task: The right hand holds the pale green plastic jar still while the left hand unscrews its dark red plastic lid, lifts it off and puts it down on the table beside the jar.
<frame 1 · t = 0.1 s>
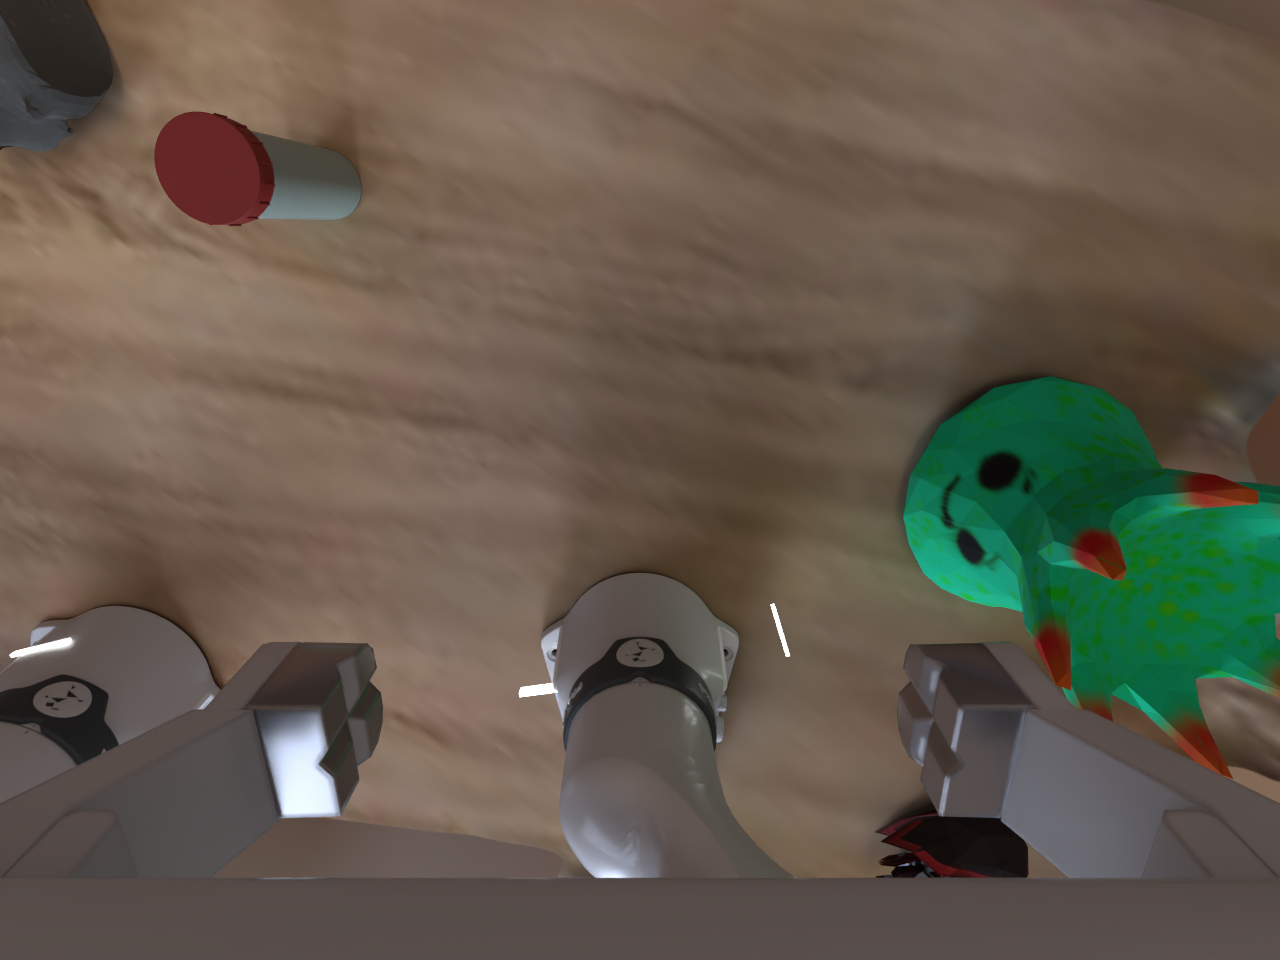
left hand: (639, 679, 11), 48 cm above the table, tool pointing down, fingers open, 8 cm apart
toy: (928, 820, 74), on the table
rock: (15, 23, 49), on the table
lid: (211, 170, 38), point 15 cm above the table, screwed on, not yet turned
toy 2: (1013, 488, 61), on the table
jar: (328, 184, 52), on the table
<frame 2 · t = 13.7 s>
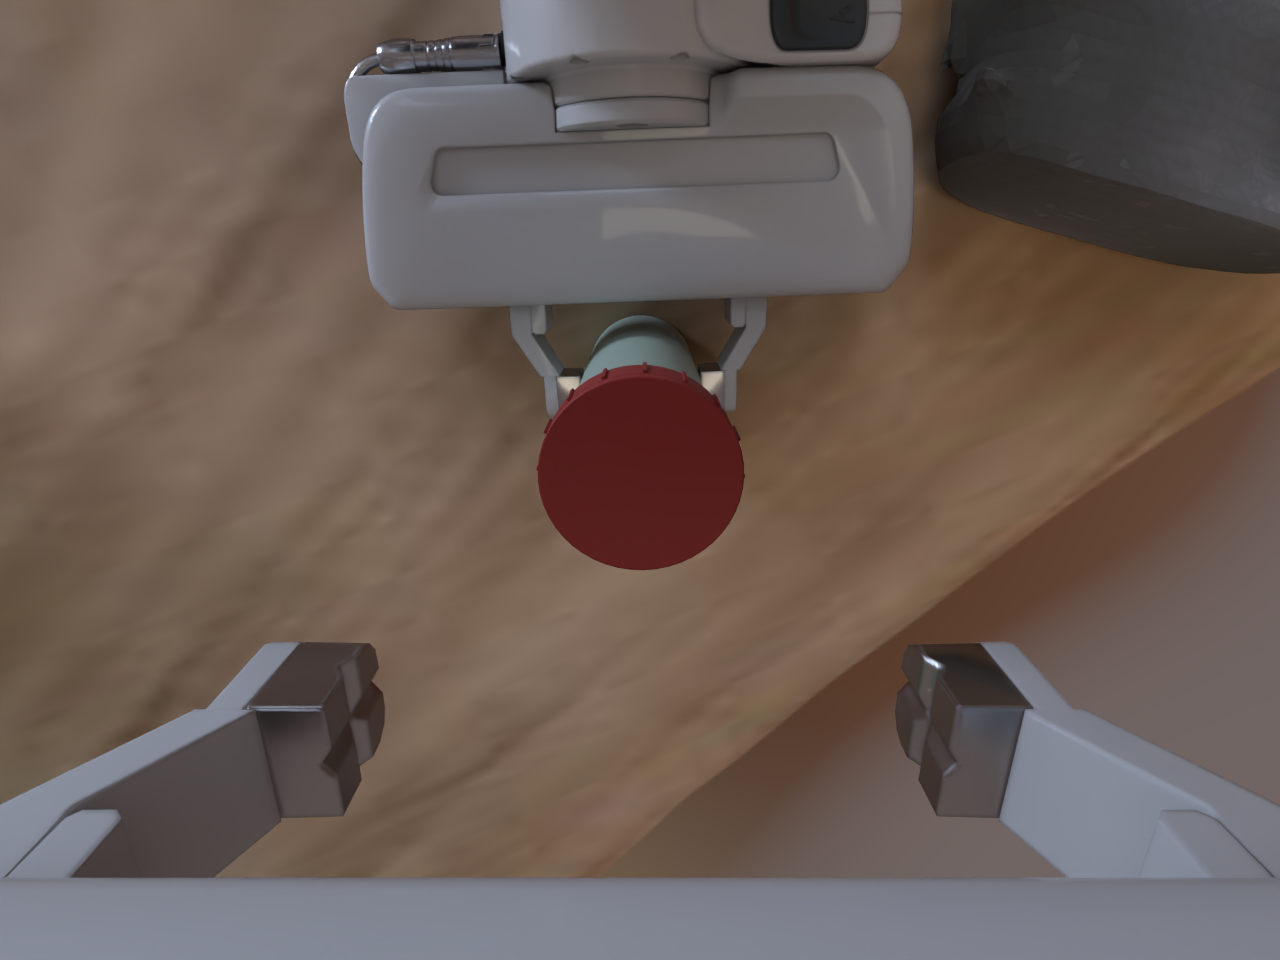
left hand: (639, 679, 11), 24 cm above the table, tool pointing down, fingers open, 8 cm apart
right hand: (642, 411, 29), fingers closed on jar, 5 cm apart
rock: (1106, 96, 29), on the table
lid: (640, 474, 19), point 15 cm above the table, screwed on, not yet turned
jar: (641, 366, 34), on the table, touching right hand
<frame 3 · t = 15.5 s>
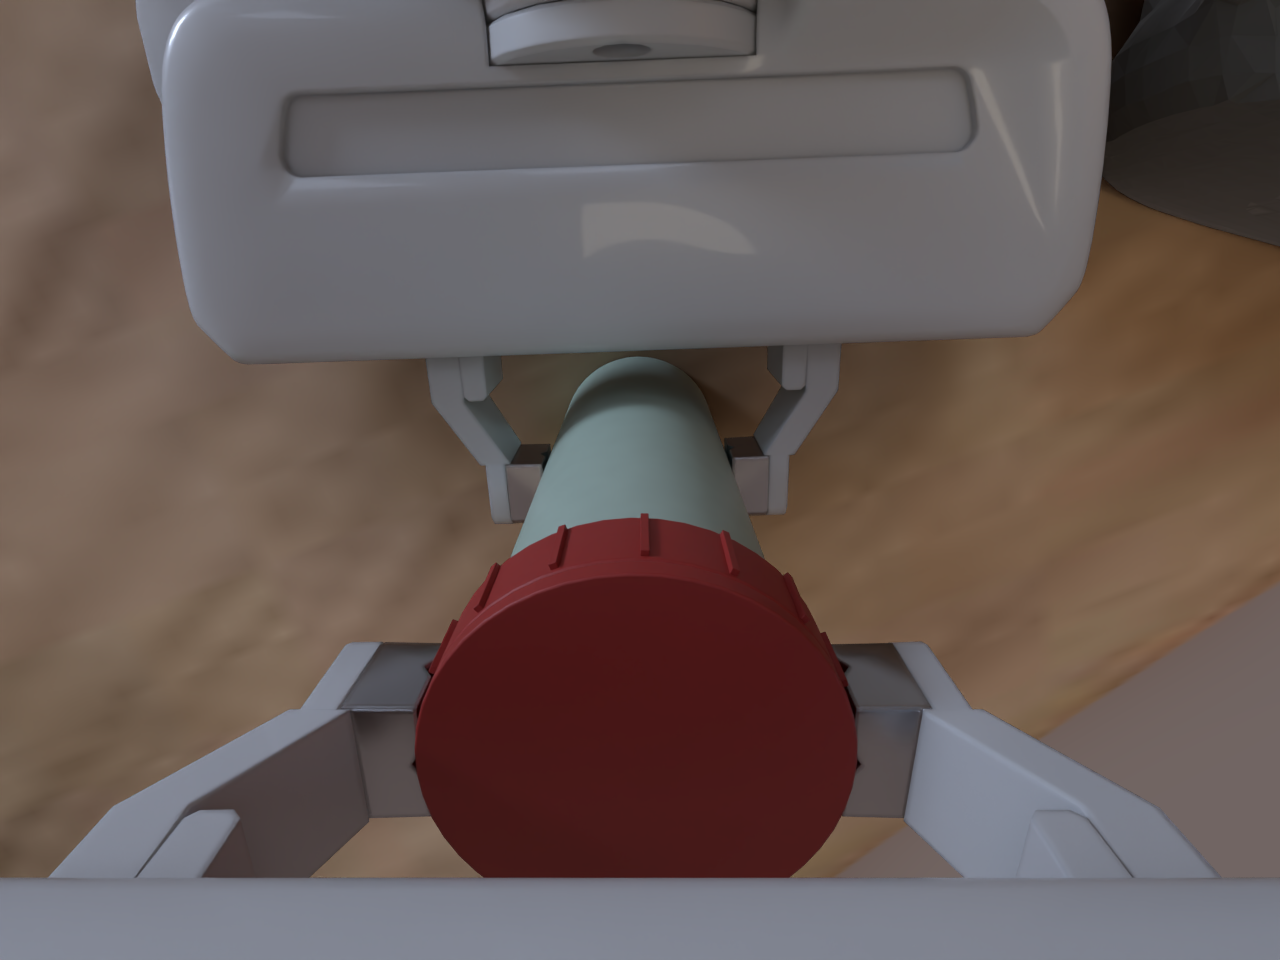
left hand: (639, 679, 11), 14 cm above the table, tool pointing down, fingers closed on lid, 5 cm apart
right hand: (641, 511, 19), fingers closed on jar, 5 cm apart
lid: (636, 750, 9), point 15 cm above the table, screwed on, not yet turned, touching left hand
jar: (638, 428, 23), on the table, touching right hand
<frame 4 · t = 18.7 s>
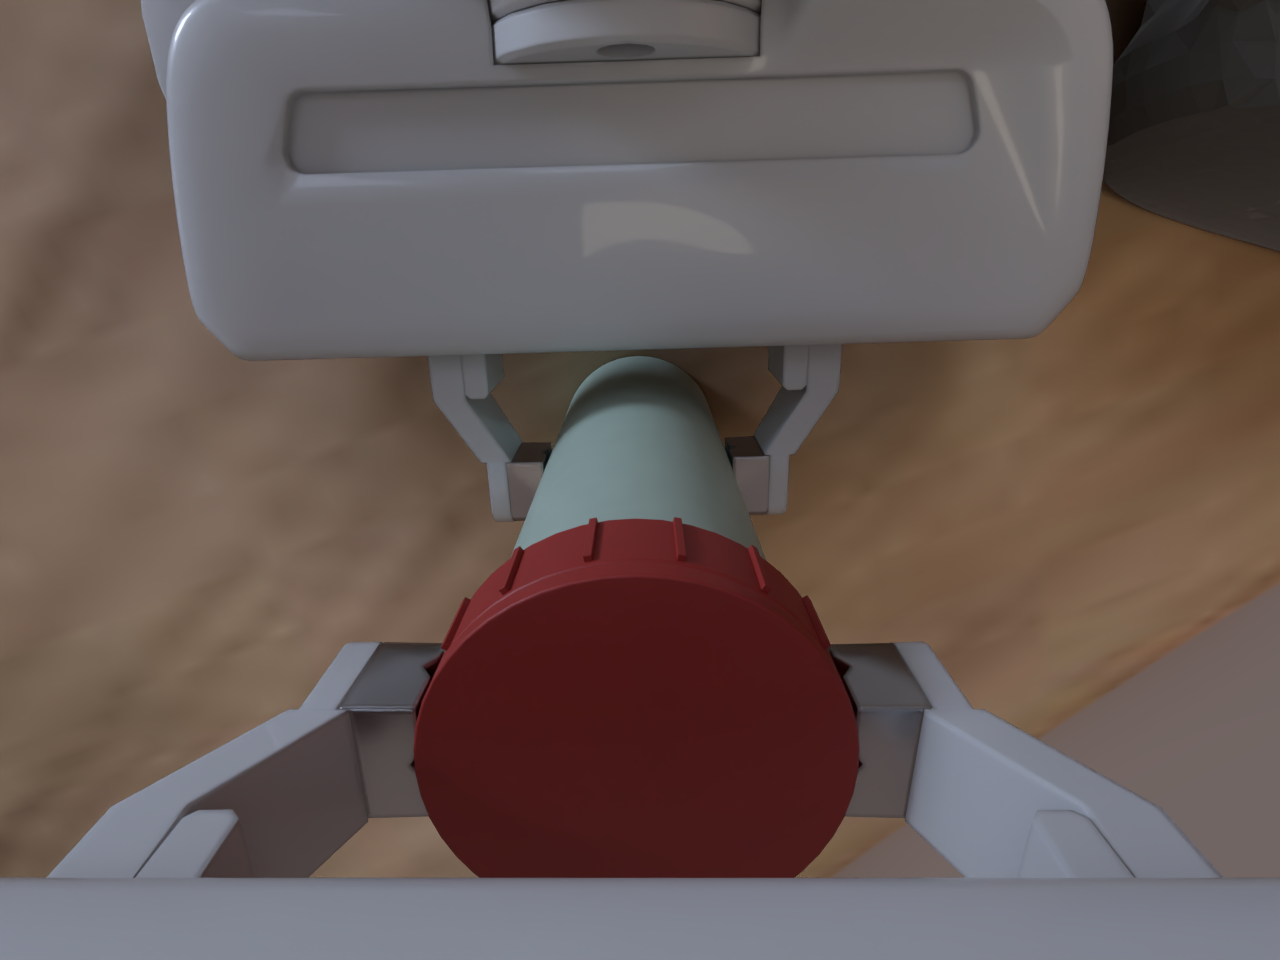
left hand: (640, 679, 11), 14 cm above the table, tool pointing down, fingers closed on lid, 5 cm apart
right hand: (641, 510, 19), fingers closed on jar, 5 cm apart
lid: (636, 753, 9), point 15 cm above the table, turned 82° so far, risen 0.1 cm, still on its thread, touching left hand
jar: (639, 427, 24), on the table, touching right hand
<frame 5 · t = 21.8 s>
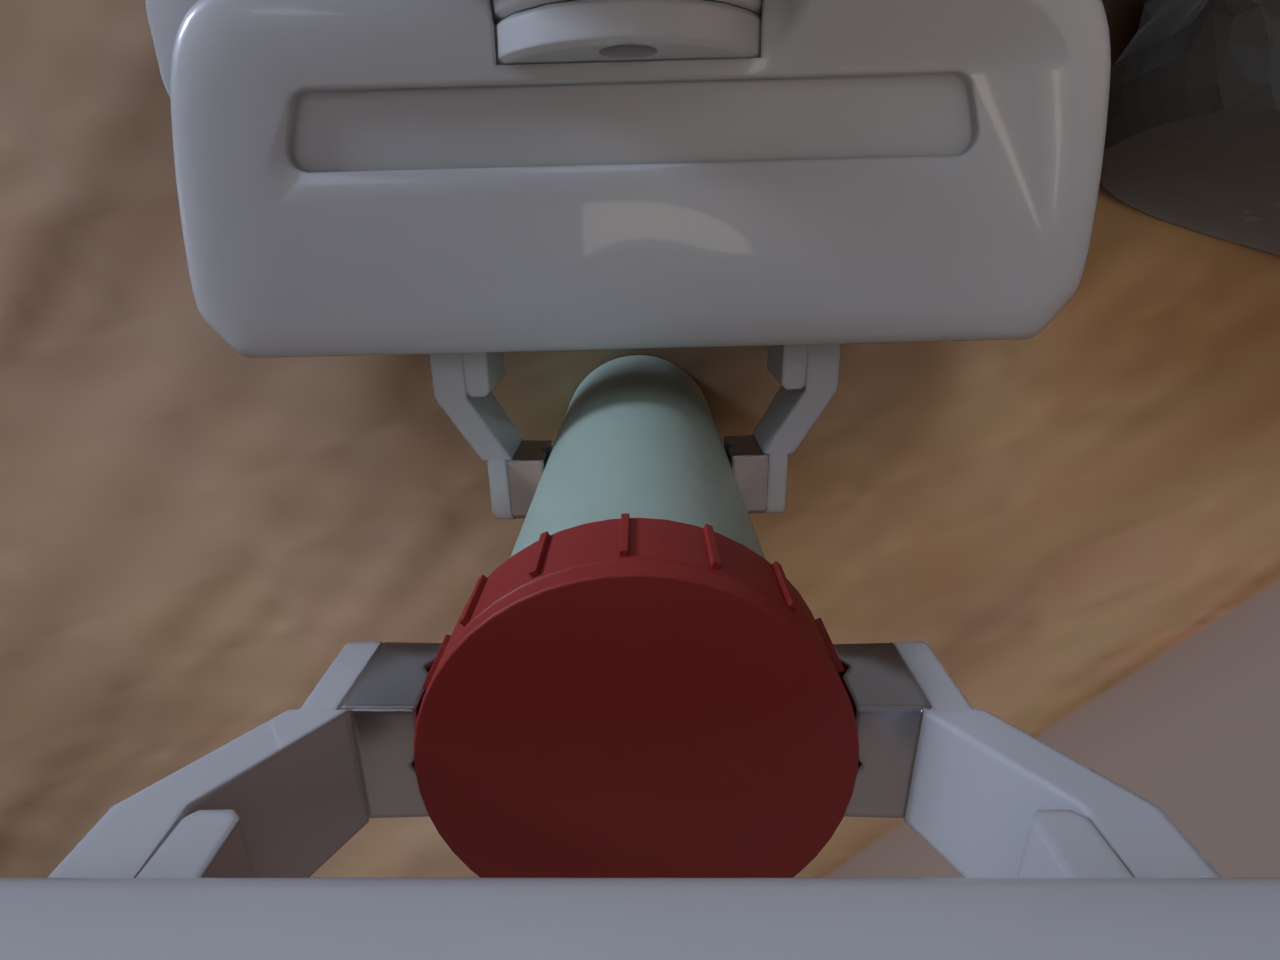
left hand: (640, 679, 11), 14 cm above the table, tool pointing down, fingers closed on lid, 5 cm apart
right hand: (640, 508, 19), fingers closed on jar, 5 cm apart
lid: (636, 752, 9), point 16 cm above the table, turned 163° so far, risen 0.2 cm, still on its thread, touching left hand
jar: (638, 426, 24), on the table, touching right hand
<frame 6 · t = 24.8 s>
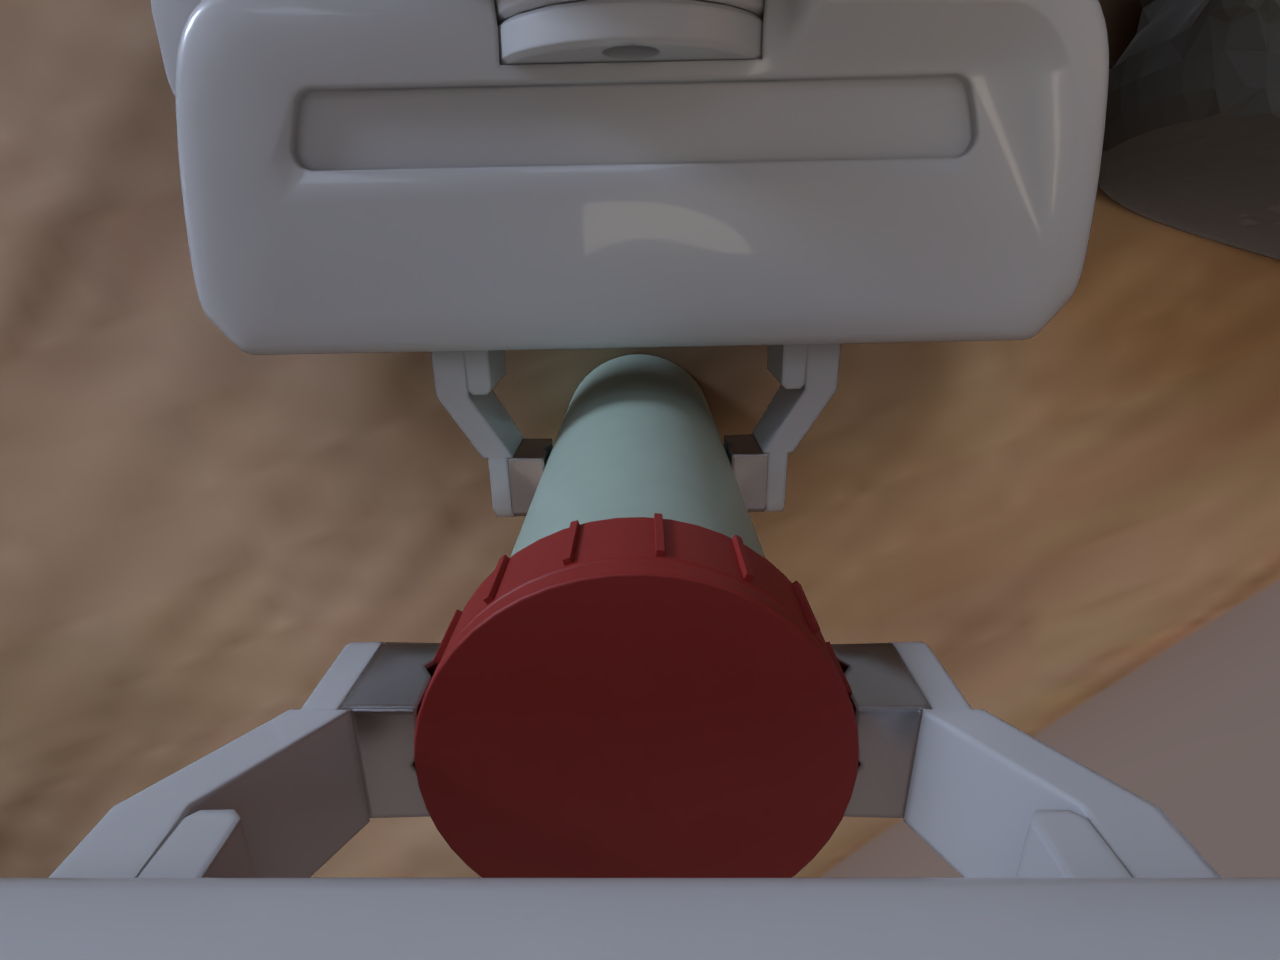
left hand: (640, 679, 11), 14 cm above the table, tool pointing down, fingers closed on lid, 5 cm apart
right hand: (640, 507, 19), fingers closed on jar, 5 cm apart
lid: (636, 751, 9), point 16 cm above the table, turned 245° so far, risen 0.3 cm, still on its thread, touching left hand
jar: (638, 425, 24), on the table, touching right hand
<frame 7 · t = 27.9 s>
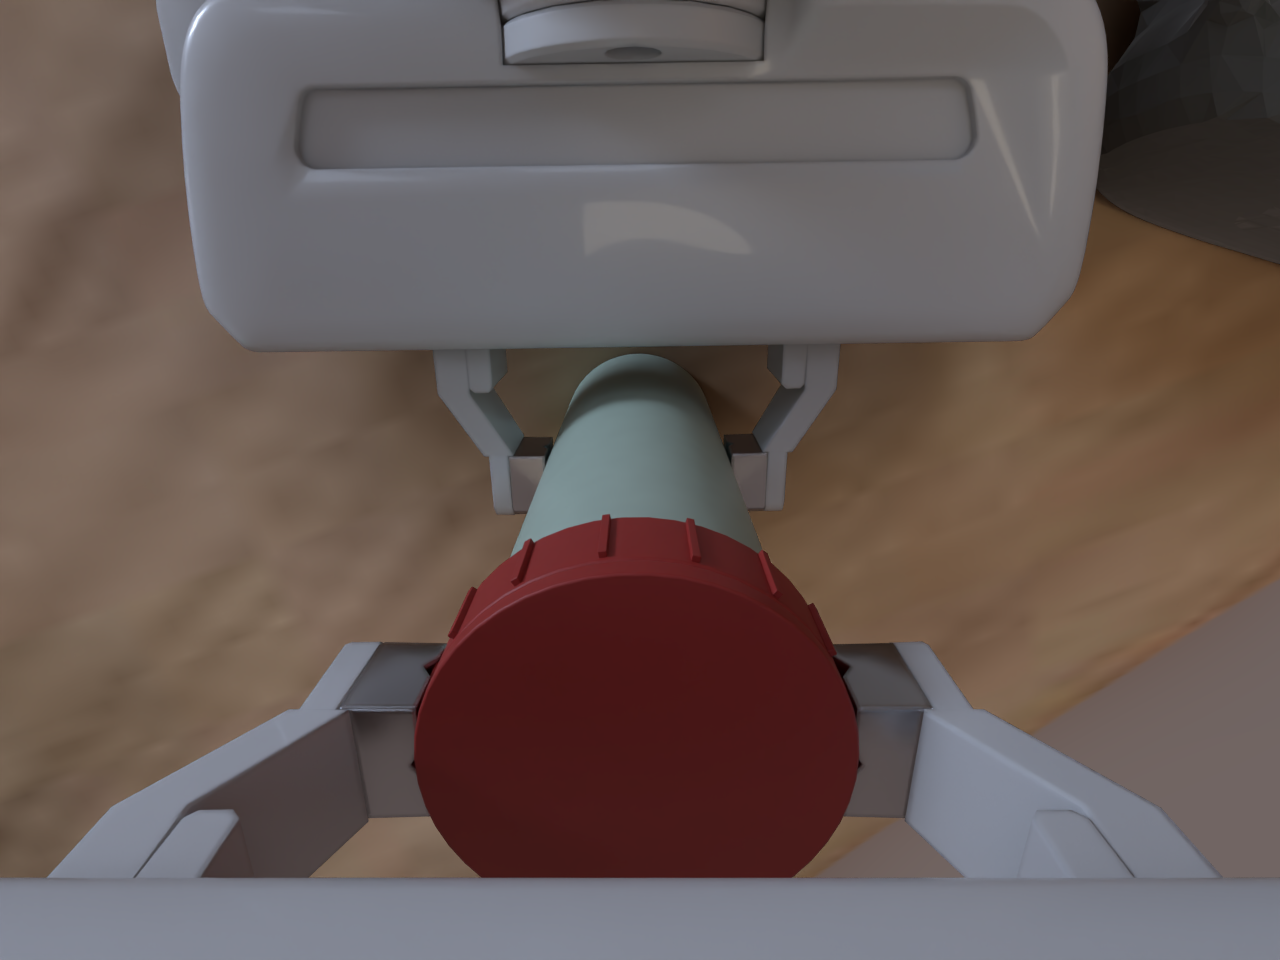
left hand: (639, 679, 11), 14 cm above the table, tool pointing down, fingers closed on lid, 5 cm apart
right hand: (640, 505, 19), fingers closed on jar, 5 cm apart
lid: (636, 751, 9), point 16 cm above the table, turned 326° so far, risen 0.4 cm, still on its thread, touching left hand
jar: (638, 424, 24), on the table, touching right hand
when the left hand's fingers open (2 cm above the table, at t = 37.5 s): lid drops 2 cm, point 1 cm above the table.
when the right hand's fingers open (5 cm above the table, at t = 38.5 s): jar stays where it is, on the table.
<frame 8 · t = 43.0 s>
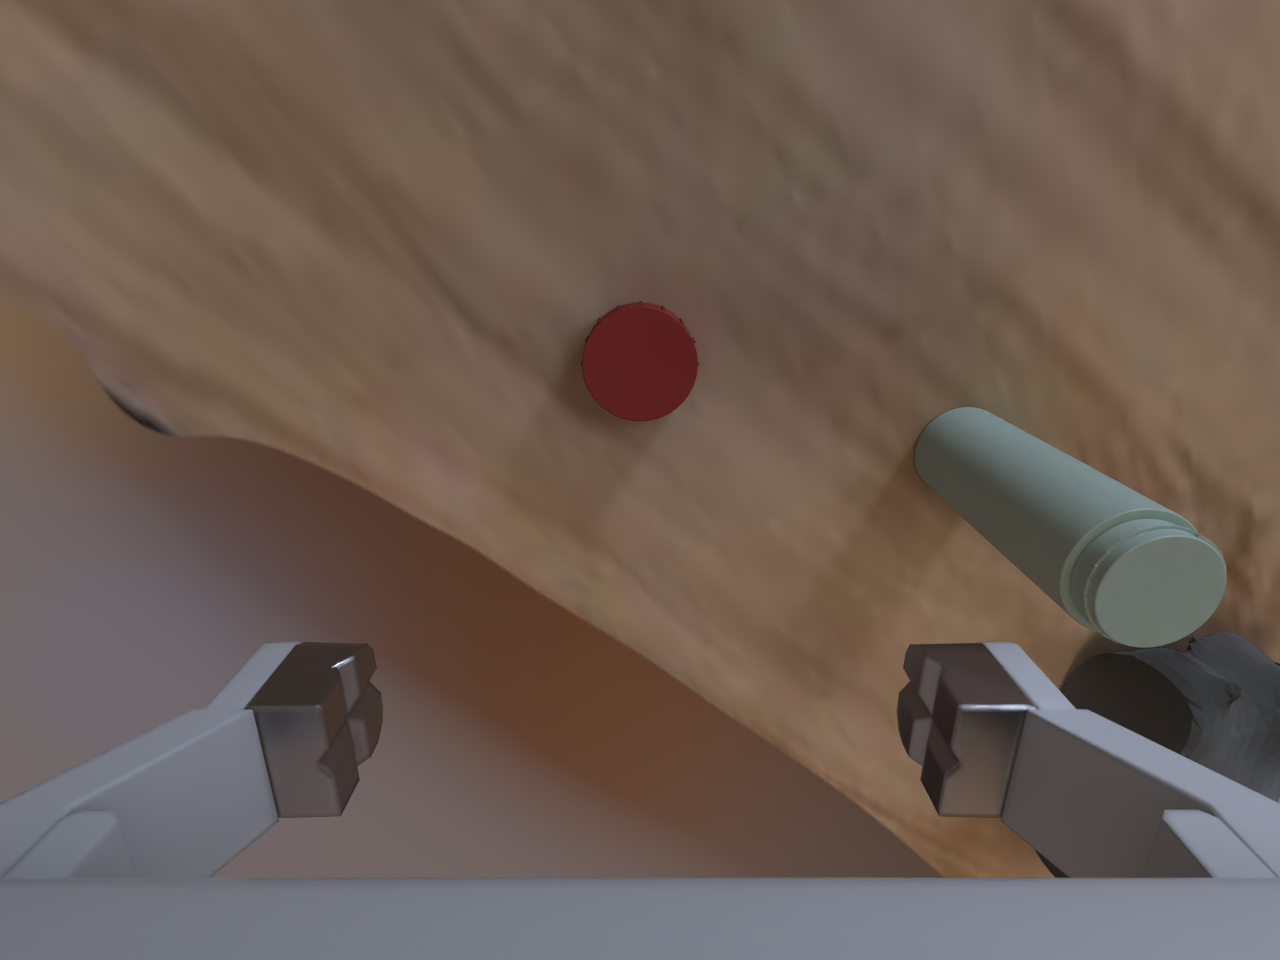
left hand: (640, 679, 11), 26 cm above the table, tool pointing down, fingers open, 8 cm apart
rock: (1132, 727, 43), on the table
lid: (639, 364, 34), point 1 cm above the table, off its thread
jar: (960, 451, 37), on the table
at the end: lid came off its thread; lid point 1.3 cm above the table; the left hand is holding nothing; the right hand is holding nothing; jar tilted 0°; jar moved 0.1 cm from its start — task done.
